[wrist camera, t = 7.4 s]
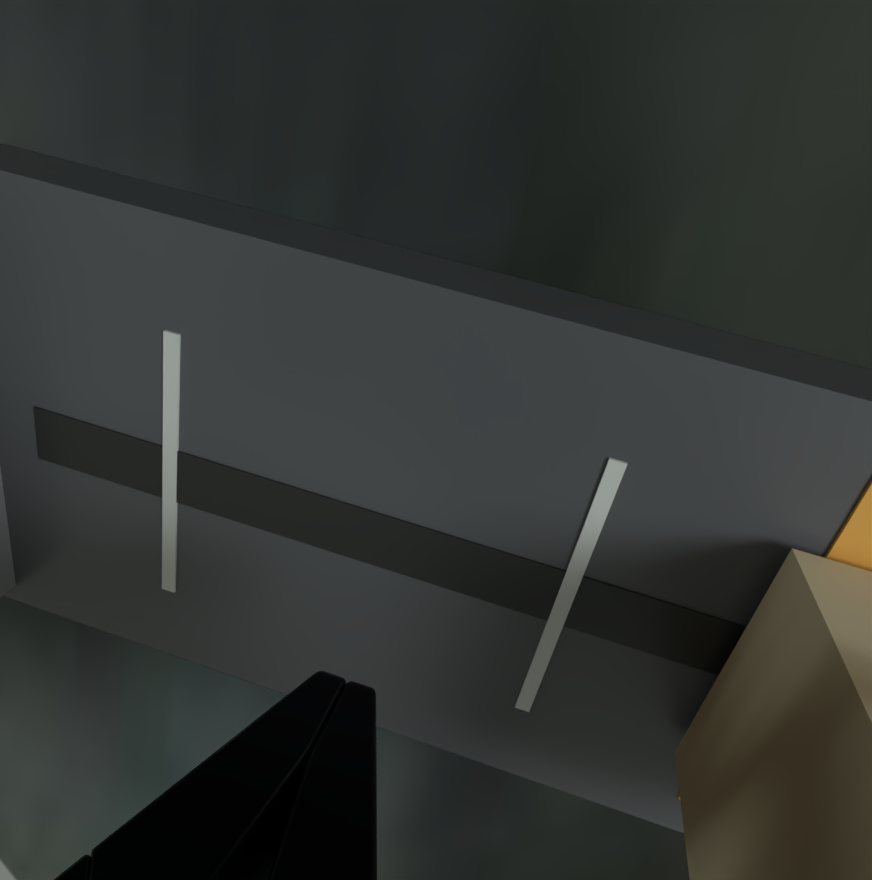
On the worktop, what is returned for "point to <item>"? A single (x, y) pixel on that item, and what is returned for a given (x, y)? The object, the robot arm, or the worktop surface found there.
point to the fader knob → (787, 737)
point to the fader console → (403, 474)
